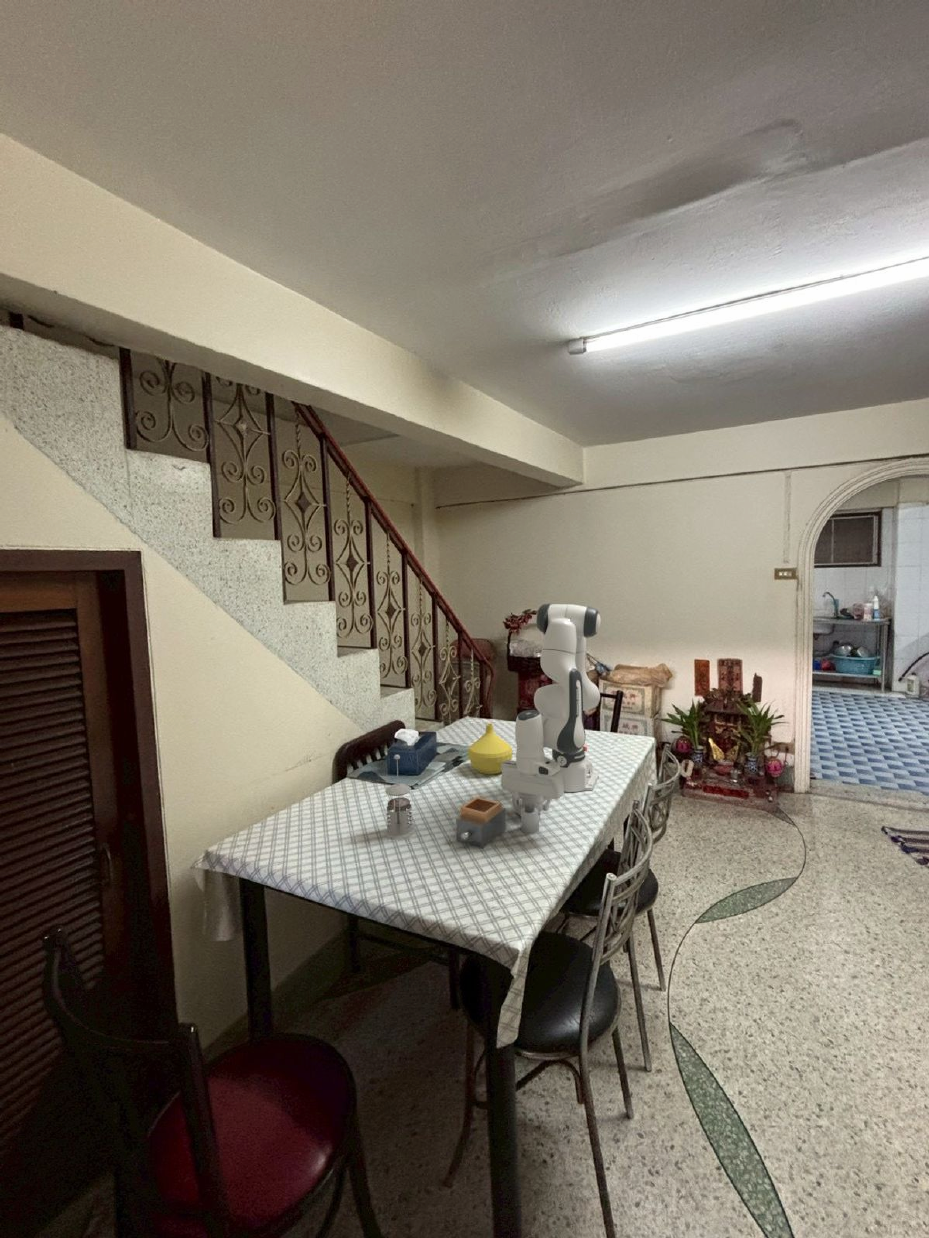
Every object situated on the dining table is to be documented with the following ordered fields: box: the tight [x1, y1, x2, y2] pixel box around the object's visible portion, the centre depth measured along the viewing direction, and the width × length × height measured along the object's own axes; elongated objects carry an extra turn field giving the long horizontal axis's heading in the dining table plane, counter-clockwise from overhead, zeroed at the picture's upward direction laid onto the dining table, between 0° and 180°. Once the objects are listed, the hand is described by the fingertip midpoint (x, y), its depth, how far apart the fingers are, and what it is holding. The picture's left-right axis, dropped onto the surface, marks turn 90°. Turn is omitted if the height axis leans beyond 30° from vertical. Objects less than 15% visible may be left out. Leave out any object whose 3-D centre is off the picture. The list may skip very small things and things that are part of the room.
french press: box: [384, 754, 416, 840], centre depth 170 cm, size 10×12×25 cm
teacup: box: [510, 792, 546, 817], centre depth 182 cm, size 14×11×8 cm
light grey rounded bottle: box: [520, 804, 540, 834], centre depth 170 cm, size 6×6×8 cm
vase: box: [467, 723, 514, 775], centre depth 222 cm, size 18×18×19 cm
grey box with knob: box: [455, 796, 507, 849], centre depth 166 cm, size 17×9×10 cm, turn 146°
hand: (532, 807), depth 168 cm, fingers open, 8 cm apart
